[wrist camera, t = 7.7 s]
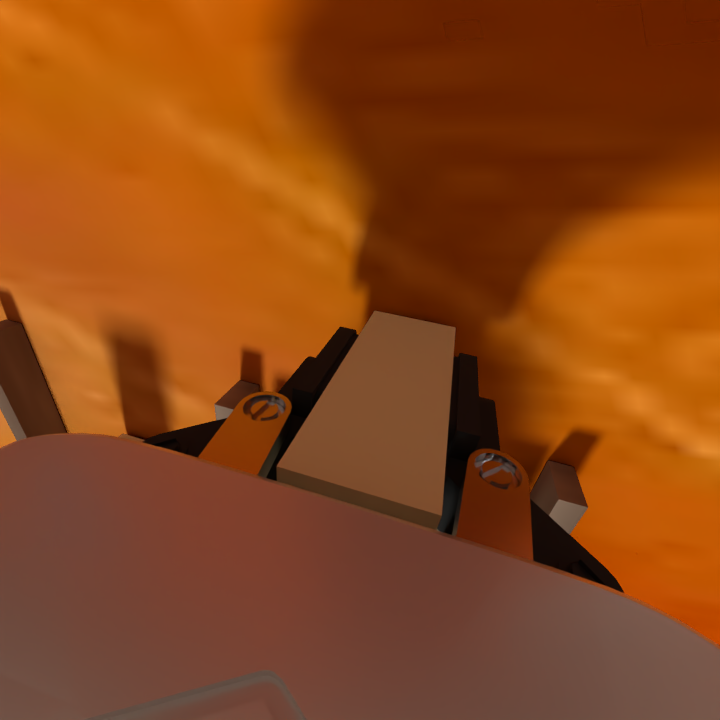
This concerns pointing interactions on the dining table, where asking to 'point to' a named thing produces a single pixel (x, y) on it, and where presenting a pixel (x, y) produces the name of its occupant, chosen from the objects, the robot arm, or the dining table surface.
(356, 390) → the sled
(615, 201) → the dining table surface
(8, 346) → the lane rails
